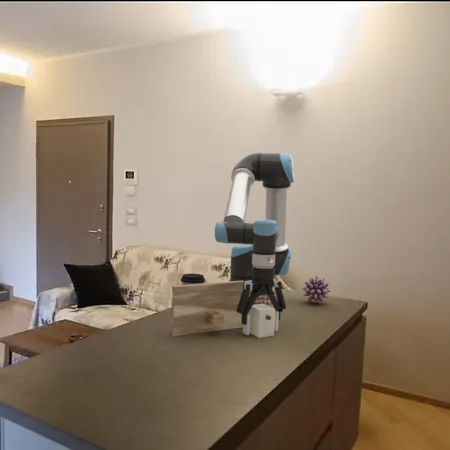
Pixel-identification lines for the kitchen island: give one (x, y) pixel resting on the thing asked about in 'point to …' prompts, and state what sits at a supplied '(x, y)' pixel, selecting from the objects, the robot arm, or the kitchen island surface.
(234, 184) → the robot arm
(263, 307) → the cabinet
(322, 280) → the purple spiky ball
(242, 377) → the kitchen island surface
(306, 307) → the kitchen island surface
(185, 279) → the coffee cup
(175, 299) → the wooden board
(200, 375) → the kitchen island surface
